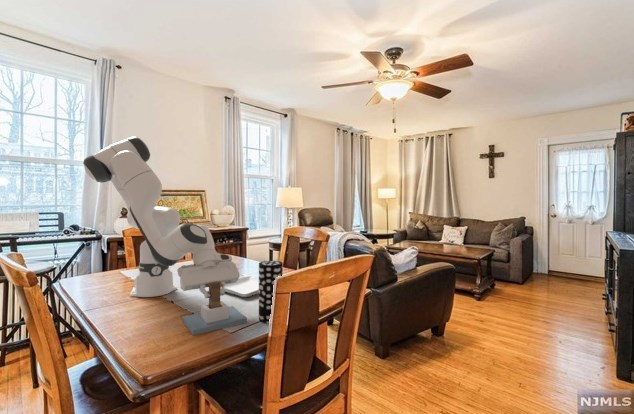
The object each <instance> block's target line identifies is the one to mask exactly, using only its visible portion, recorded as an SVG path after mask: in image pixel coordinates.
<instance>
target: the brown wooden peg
mask: <svg viewBox="0 0 634 414" xmlns="http://www.w3.org/2000/svg"><path fill="white" fill-rule="evenodd" d="M208 291H210V295H211V296H210V298H208V303H209V308H210V309H213V308H218V307H220V301H221V296H220V283H219V282H218V281H217V282H210V283H209V287H208Z"/></svg>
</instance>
